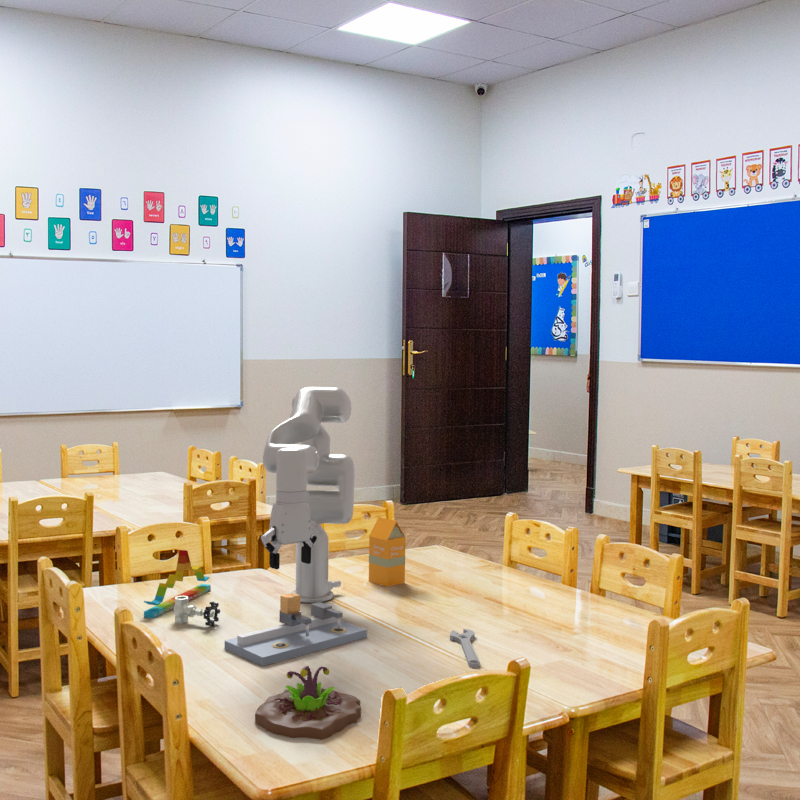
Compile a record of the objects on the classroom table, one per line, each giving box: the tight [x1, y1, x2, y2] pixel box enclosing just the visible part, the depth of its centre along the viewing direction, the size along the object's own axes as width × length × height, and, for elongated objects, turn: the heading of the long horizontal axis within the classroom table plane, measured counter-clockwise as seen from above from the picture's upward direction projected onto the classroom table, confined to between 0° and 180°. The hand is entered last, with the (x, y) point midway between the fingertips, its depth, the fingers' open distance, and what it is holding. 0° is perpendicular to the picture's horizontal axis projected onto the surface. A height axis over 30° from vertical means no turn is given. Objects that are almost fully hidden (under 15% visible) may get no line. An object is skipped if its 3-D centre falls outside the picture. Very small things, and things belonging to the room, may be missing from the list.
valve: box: [173, 595, 221, 627], centre depth 240 cm, size 7×7×12 cm
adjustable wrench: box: [449, 628, 481, 669], centre depth 222 cm, size 25×6×2 cm, turn 179°
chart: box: [143, 549, 212, 619], centre depth 258 cm, size 30×3×15 cm, turn 162°
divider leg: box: [278, 592, 311, 636], centre depth 225 cm, size 4×10×9 cm, turn 44°
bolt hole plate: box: [224, 602, 368, 667], centre depth 225 cm, size 32×16×7 cm, turn 134°
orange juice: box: [368, 516, 406, 588], centre depth 285 cm, size 8×9×20 cm
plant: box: [254, 665, 362, 740], centre depth 180 cm, size 20×20×11 cm
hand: (290, 565), depth 226 cm, fingers open, 9 cm apart
